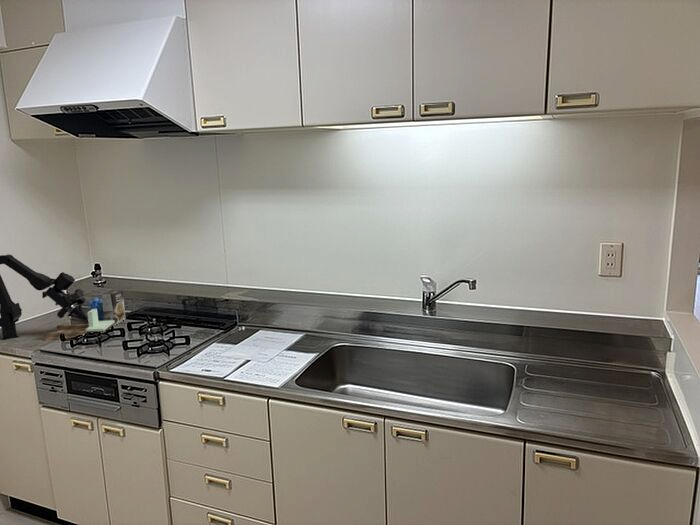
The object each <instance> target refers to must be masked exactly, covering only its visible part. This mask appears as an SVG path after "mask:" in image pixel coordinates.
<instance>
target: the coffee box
mask: <svg viewBox="0 0 700 525" xmlns="http://www.w3.org/2000/svg"><path fill="white" fill-rule="evenodd" d="M101 299H102V304H103V315H104V319H103V321H109V320H115V322H114V325H115V326H117V325H116V324H118V323H120V322H122V321H123V320H125V319H126V310H125V299H124V290H118V289H117V290H110V291H107V292H104V293H101ZM122 323H123V322H122ZM120 324H121V323H120ZM118 325H119V324H118Z"/></svg>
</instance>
